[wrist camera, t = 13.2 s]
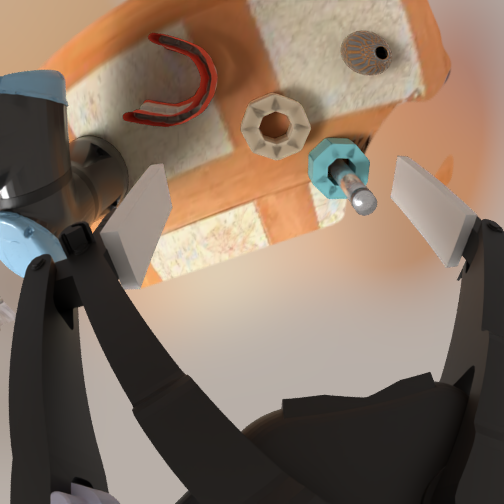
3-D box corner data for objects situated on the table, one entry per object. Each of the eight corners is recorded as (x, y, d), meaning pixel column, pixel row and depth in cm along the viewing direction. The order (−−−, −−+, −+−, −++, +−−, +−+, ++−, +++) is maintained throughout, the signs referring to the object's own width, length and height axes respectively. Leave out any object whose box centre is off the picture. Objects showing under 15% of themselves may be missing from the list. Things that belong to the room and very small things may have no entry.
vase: (379, 73, 33) (408, 78, 26) (339, 75, 34) (361, 78, 27) (373, 33, 29) (400, 29, 22) (331, 33, 30) (352, 27, 23)
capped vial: (325, 173, 44) (353, 216, 33) (326, 155, 42) (356, 193, 31) (343, 173, 44) (375, 215, 33) (344, 156, 42) (379, 193, 31)
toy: (203, 128, 39) (195, 141, 33) (141, 110, 37) (121, 121, 30) (234, 54, 32) (231, 50, 26) (167, 36, 30) (150, 30, 23)
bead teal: (307, 189, 46) (311, 199, 43) (308, 137, 41) (313, 143, 38) (358, 189, 46) (365, 198, 43) (363, 139, 40) (371, 145, 38)
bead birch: (259, 160, 43) (260, 168, 40) (232, 109, 38) (231, 113, 35) (312, 138, 41) (318, 144, 38) (289, 85, 35) (293, 86, 33)
